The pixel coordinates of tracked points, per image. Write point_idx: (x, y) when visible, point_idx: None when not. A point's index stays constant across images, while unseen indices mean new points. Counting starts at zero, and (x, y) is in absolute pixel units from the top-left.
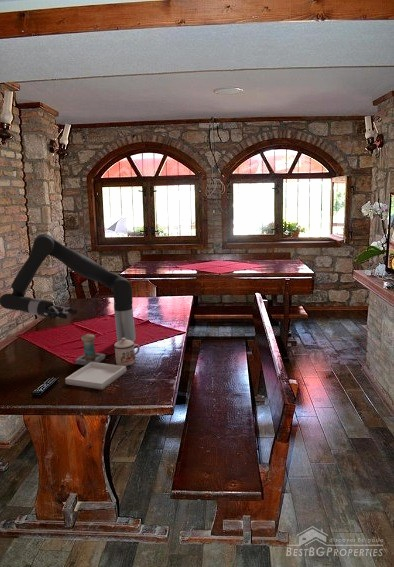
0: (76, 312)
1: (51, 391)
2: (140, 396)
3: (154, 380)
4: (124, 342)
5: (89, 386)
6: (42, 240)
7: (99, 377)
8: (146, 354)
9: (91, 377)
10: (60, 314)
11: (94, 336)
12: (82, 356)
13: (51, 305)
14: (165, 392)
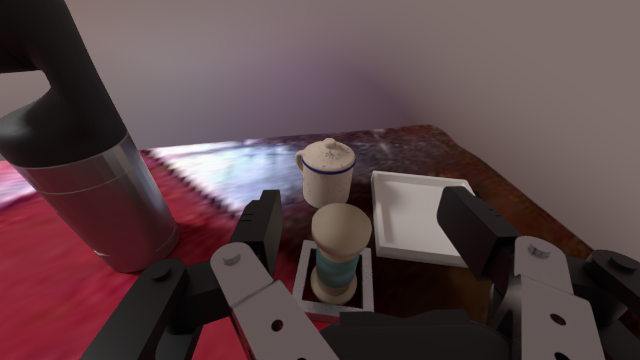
0: (280, 205)
1: None
2: (440, 145)
3: (385, 143)
4: (339, 144)
5: None
6: None
7: (430, 206)
8: (274, 174)
9: None
10: (511, 226)
11: (333, 204)
12: (337, 308)
13: None
14: (412, 130)
